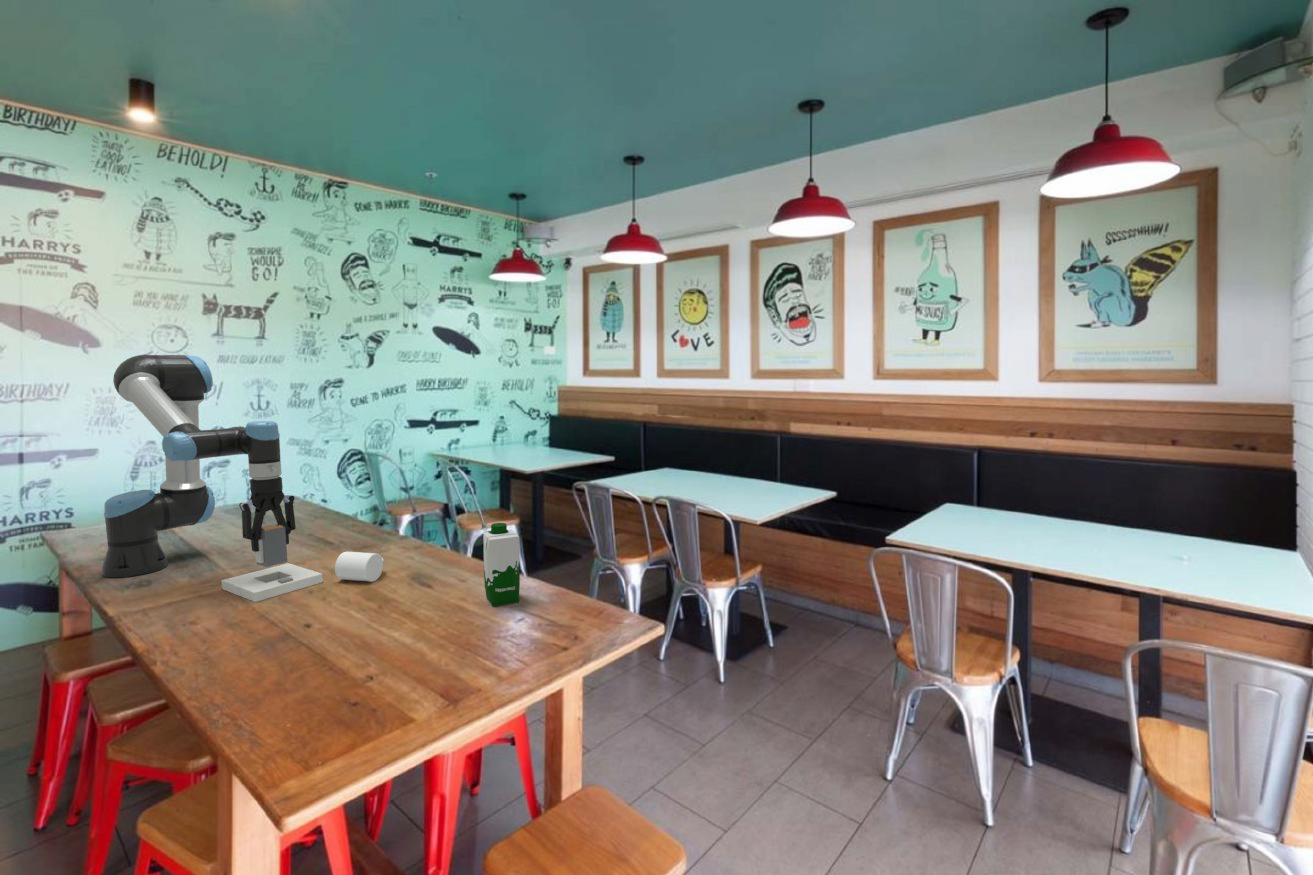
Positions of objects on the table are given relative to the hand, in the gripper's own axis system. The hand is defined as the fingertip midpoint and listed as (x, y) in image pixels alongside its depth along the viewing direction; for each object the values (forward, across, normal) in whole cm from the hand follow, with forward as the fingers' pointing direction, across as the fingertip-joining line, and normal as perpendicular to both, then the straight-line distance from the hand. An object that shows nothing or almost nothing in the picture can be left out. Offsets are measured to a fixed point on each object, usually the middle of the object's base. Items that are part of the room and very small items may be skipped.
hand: (271, 559), depth 175 cm
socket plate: (+8, 0, 0) cm, 8 cm away
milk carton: (+8, +27, -62) cm, 68 cm away
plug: (+1, 0, 0) cm, 1 cm away
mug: (+8, +18, -15) cm, 25 cm away
